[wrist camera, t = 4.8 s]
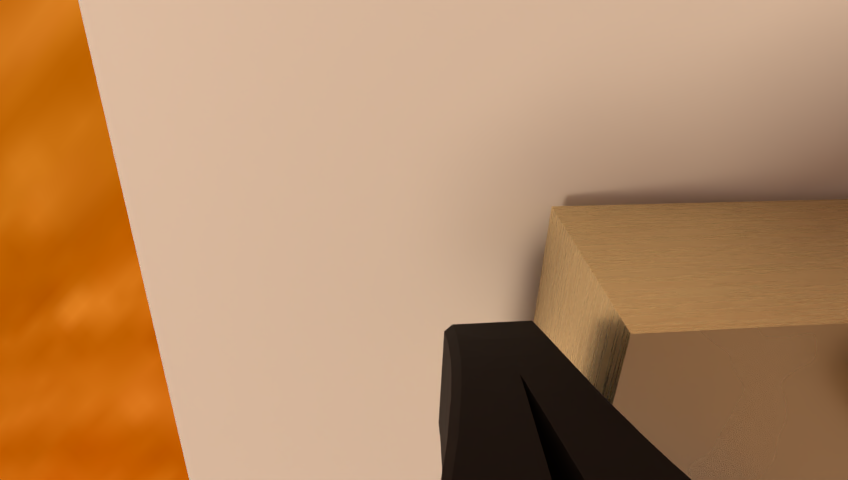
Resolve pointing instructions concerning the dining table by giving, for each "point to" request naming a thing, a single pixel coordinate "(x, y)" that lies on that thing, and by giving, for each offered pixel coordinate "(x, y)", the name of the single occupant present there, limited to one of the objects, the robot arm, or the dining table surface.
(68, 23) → the dining table surface
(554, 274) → the block
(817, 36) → the door panel
